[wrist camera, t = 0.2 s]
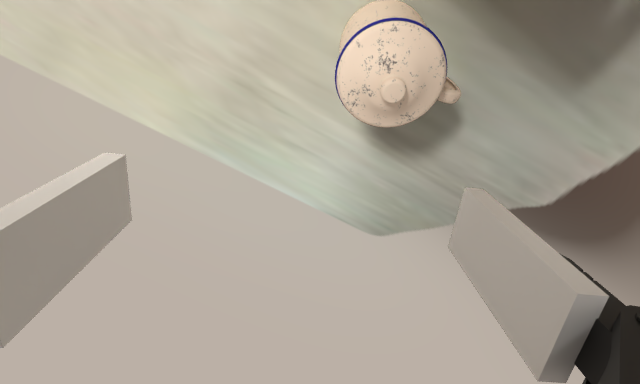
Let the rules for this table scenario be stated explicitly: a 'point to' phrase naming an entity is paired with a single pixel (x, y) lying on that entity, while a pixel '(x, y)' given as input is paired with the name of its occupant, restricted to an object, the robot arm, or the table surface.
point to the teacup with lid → (391, 66)
